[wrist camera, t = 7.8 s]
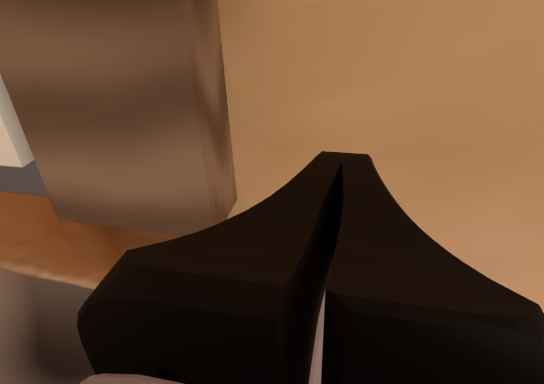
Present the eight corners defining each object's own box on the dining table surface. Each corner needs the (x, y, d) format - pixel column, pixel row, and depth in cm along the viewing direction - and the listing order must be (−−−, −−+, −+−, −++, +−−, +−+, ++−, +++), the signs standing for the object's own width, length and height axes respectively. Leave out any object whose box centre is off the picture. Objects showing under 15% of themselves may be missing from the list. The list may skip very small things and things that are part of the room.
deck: (236, 199, 25) (215, 239, 22) (97, 186, 27) (58, 220, 24) (210, -63, 18) (171, -63, 15) (21, -54, 20) (-50, -52, 17)
